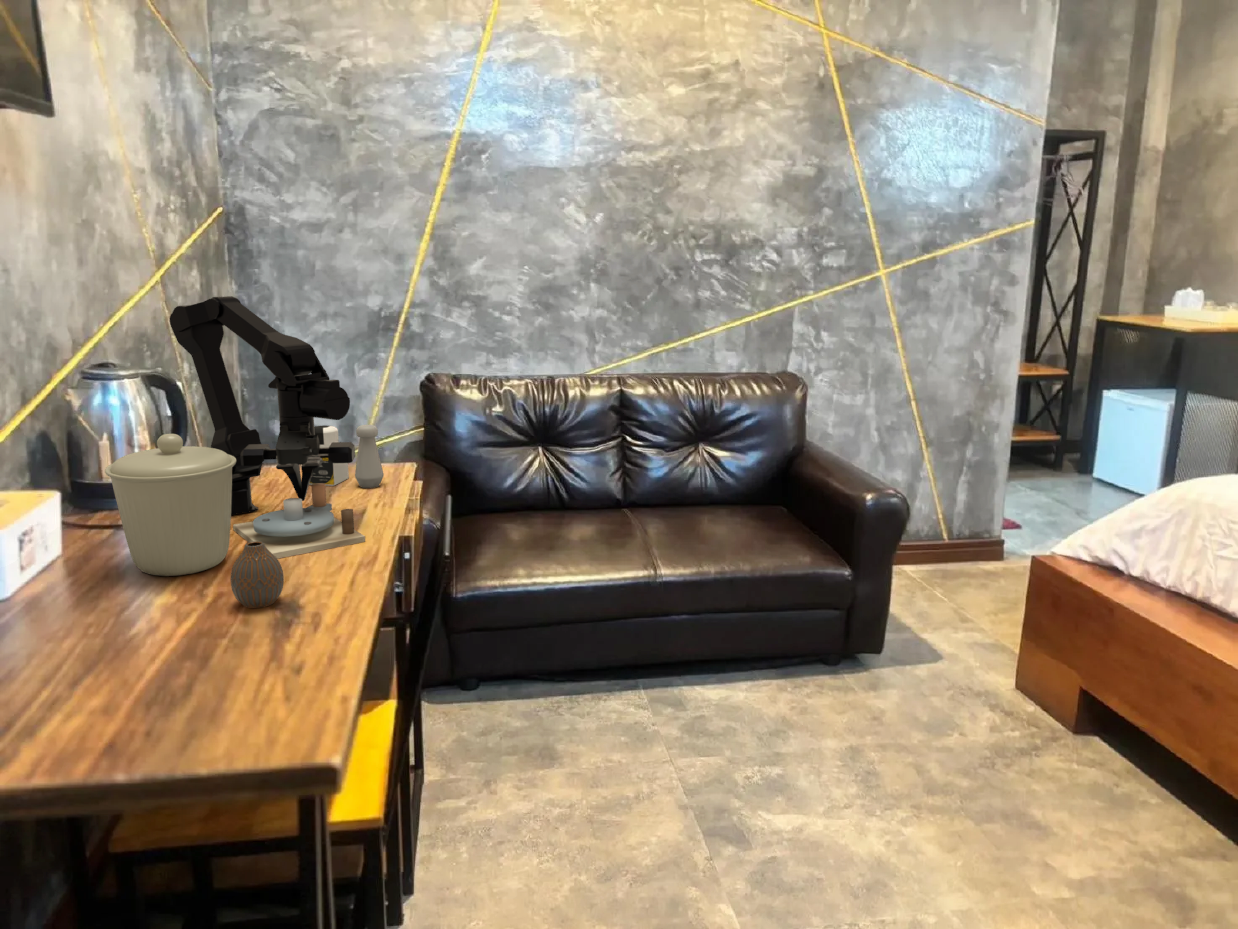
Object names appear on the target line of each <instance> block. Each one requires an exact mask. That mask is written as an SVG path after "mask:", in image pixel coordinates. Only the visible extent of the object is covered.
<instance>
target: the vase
mask: <svg viewBox="0 0 1238 929" xmlns="http://www.w3.org/2000/svg"><path fill="white" fill-rule="evenodd" d="M284 581H285V575H284V570H283V567H282V564H281V562H280V561H279V558H278V559H277V558H276V557H275V556H274V555H273V554H272V553H271V552H270V551H269V550H268V549H267V548H266V546H265V545H264V543H263V542H260V541H254V542H247V543H245V545H244V547H243V549H242V552H240V554H239V556H238V557H237V558H236V560H235V561H234V564H233V565H232V568H231V572H230V586H231V591H232V593H233V595H234V597H235V599H236V601H238V603H240V604H241V605H242V606H243V607H246V608H249V609H258V608H259V609H260V608H265V607H269V606H271V605H273V604H274V603H276V601H277V600H278V598H279V597H280V596H281V594H282V591H283V588H284V584H285V582H284Z"/></svg>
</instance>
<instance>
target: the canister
mask: <svg viewBox="0 0 1238 929" xmlns="http://www.w3.org/2000/svg"><path fill="white" fill-rule="evenodd" d="M156 446H157V448H152V449H147V450H146V449H145V450H139V451H136V452H131V453H129V454H126V455H124V456H121V457H119V458H117V459H116V460H115V461H114V462H113V463H111V464H109V465H108V466H106V467H105V468H104V473H105V475H106V476H107V477H109V478H110V479H111V484H112V488H113V494H114V498H115V501H116V505H117V508H118V512H119V517H120V522H121V524H122V525H121V526H122V529H123V532H124V536H125V540H126V543H127V545H128V546H127V547H128V550H129V552H130V557H131V559H132V561H133V564H134V565H135V566H136V567H137V568H138V569H139V570H140V571H141V572H142V573H146V574H149V575H151V576H161V577H169V576H173V577H174V576H183V575H190V574H195V573H199V572H203V571H205V570H206V571H207V570H209V569H212V568H213V567H216V566H218V565H219V564H221V563H222V562H223V561H224V559H225V558H226V556H227V554H228V551H229V548H230V542H231V541H230V539H231V522H232V515H231V496H232V467H233V466H234V465H235V464H236V458H235V457H234V456H232V455H229V454H227V453H225V452H224V451H222V450H219V449H215V448H211V447H208V446H194V445H193V446H192V445H191V446H190V445H189V446H188V445H187V446H186V445H185V446H184V440H183V438H182V437H181V436H180V435H179V434H176V433H164V434H161V436H159V438H158V439H157V441H156Z"/></svg>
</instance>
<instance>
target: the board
mask: <svg viewBox="0 0 1238 929" xmlns="http://www.w3.org/2000/svg"><path fill="white" fill-rule="evenodd" d="M340 515H341V516H340V518H341V520H339V519H338V518H337V517H335V516H334V524H333V525H332V526H331V527H329V528H328V529H325V530H323V531H320V532H316V533H312V534H306V535H300V536H286V537H278V536H267V535H262V534H259V533H257V532H255V531H254V525H253V521H254V520H253V521H246V522H241V523H234V524H233V525H232V526H233V531H234V532H235V533H236V534H238V535H239V536H240V537H241V538H242V539H243V540H245V541H246V542H247V543H249V542H254V541H260V542H263V543H264V545H265V546H266V548H267V549H268V550H269V551H270V552H271V553H272V554H273V555H274V556H275V557H276V558H277V559H278V560H279V559H281V558H289V557H293V556H298V555H303V554H308V553H313V552H319V551H323V550H324V551H325V550H328V549H335V548H338V547H339V548H340V547H345V546H350V545H354V544H361V543H365V542H366V535H364V534H362V533H360V532H359V531H357V530H355V523H354V522H355V520H354V517H355V516H354V509H352V508H343V509H341V510H340Z"/></svg>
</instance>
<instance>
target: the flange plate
mask: <svg viewBox="0 0 1238 929" xmlns="http://www.w3.org/2000/svg"><path fill="white" fill-rule="evenodd" d="M310 486H311V500H312V501H311V502H312V504H310V505H308V506H307V507H303V501H302V499H300V498H298V497H289V498H286V499H284V500H283V501H282V502H283V503H282V504H283V509H279V510H273V511H270V512H266V513H263V514H261V515H258V516H257V517H255V518H254V520H253V525H254V531H255V532H257V533H259V534H262V535H267V536H278V537H286V536H300V535H306V534H312V533H316V532H320V531H323V530H325V529H328V528H329V527H331V526H332V525H333V524H334V517H335V516H334V513H333V512H332V510H333V507H332V503H329V502H327V487H326V486H325V484H324V483H316V484H312V485H310Z"/></svg>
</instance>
